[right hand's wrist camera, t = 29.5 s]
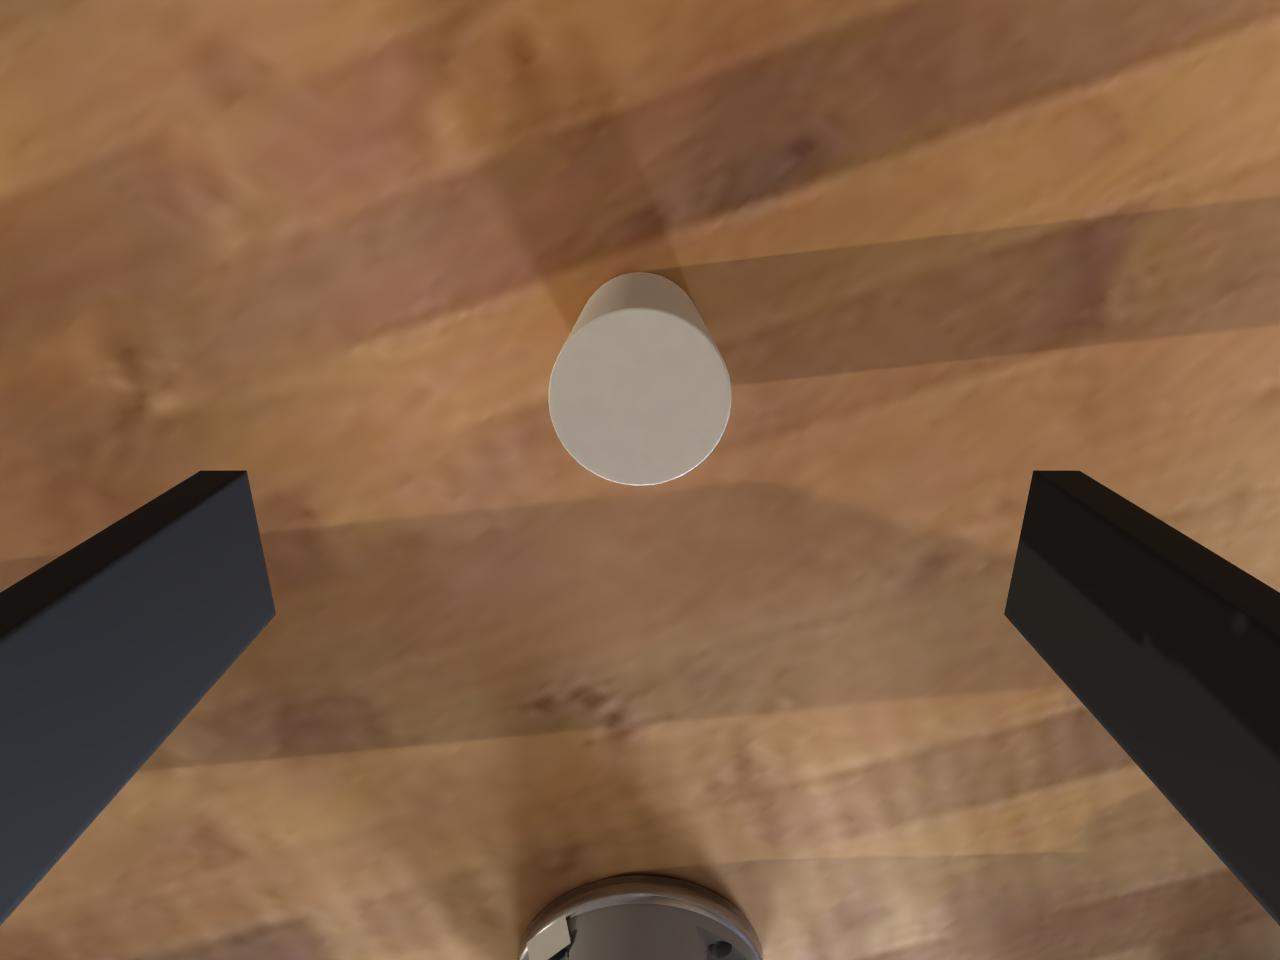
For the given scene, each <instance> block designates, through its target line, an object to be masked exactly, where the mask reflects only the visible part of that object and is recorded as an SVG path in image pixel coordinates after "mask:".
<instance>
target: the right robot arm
mask: <svg viewBox="0 0 1280 960" xmlns="http://www.w3.org/2000/svg"><path fill="white" fill-rule="evenodd" d="M275 615H276V613H275V608H274V603H273V598H272V593H271V589H270V584H269V579H268V574H267V569H266V564H265V559H264V554H263V549H262V544H261V539H260V534H259V529H258V525H257V520H256V515H255V510H254V505H253V500H252V495H251V490H250V485H249V480H248V475H247V471H199V472H198V473H196V474H194V475H193V476H191V477H190V478H188V479H186V480H185V481H183V482H181V483H180V484H178V485H176V486H175V487H173V488H171V489H170V490H168V491H167V492H165V493H163V494H162V495H160V496H158V497H157V498H155V499H153V500H152V501H150V502H149V503H147V504H145V505H144V506H142V507H140V508H139V509H137V510H135V511H134V512H132V513H130V514H129V515H127V516H126V517H124V518H122V519H121V520H119V521H117V522H116V523H114V524H112V525H111V526H109V527H108V528H106V529H104V530H103V531H101V532H99V533H98V534H96V535H94V536H93V537H91V538H89V539H88V540H86V541H85V542H83V543H81V544H80V545H78V546H76V547H75V548H73V549H71V550H70V551H68V552H66V553H65V554H63V555H62V556H60V557H58V558H57V559H55V560H53V561H52V562H50V563H48V564H47V565H45V566H44V567H42V568H40V569H39V570H37V571H35V572H34V573H32V574H30V575H29V576H27V577H25V578H24V579H22V580H21V581H19V582H17V583H16V584H14V585H12V586H11V587H9V588H7V589H6V590H4V591H2V592H1V593H0V926H1V924H2V923H3V922H4V921H5V920H6V919H7V918H8V916H9V915H10V914H11V913H12V912H13V911H14V910H15V909H16V907H17V906H18V905H19V904H20V903H21V902H22V901H23V900H24V898H25V897H26V896H27V895H28V894H29V893H30V892H31V890H32V889H33V888H34V887H35V886H36V885H37V884H38V883H39V881H40V880H41V879H42V878H43V877H44V876H45V875H46V874H47V872H48V871H49V870H50V869H51V868H52V867H53V866H54V865H55V863H56V862H57V861H58V860H59V859H60V858H61V857H62V855H63V854H64V853H65V852H66V851H67V850H68V849H69V848H70V846H71V845H72V844H73V843H74V842H75V841H76V840H77V839H78V837H79V836H80V835H81V834H82V833H83V832H84V831H85V829H86V828H87V827H88V826H89V825H90V824H91V823H92V822H93V820H94V819H95V818H96V817H97V816H98V815H99V814H100V813H101V811H102V810H103V809H104V808H105V807H106V806H107V805H108V803H109V802H110V801H111V800H112V799H113V798H114V797H115V796H116V794H117V793H118V792H119V791H120V790H121V789H122V788H123V787H124V785H125V784H126V783H127V782H128V781H129V780H130V779H131V778H132V776H133V775H134V774H135V773H136V772H137V771H138V770H139V768H140V767H141V766H142V765H143V764H144V763H145V762H146V761H147V759H148V758H149V757H150V756H151V755H152V754H153V753H154V752H155V750H156V749H157V748H158V747H159V746H160V745H161V744H162V742H163V741H164V740H165V739H166V738H167V737H168V736H169V735H170V733H171V732H172V731H173V730H174V729H175V728H176V727H177V726H178V724H179V723H180V722H181V721H182V720H183V719H184V718H185V716H186V715H187V714H188V713H189V712H190V711H191V710H192V709H193V707H194V706H195V705H196V704H197V703H198V702H199V701H200V700H201V698H202V697H203V696H204V695H205V694H206V693H207V692H208V691H209V689H210V688H211V687H212V686H213V685H214V684H215V683H216V681H217V680H218V679H219V678H220V677H221V676H222V675H223V674H224V672H225V671H226V670H227V669H228V668H229V667H230V666H231V665H232V663H233V662H234V661H235V660H236V659H237V658H238V657H239V655H240V654H241V653H242V652H243V651H244V650H245V649H246V648H247V646H248V645H249V644H250V643H251V642H252V641H253V640H254V639H255V637H256V636H257V635H258V634H259V633H260V632H261V631H262V629H263V628H264V627H265V626H266V625H267V624H268V623H269V622H270V620H271V619H272V618H273V617H274V616H275ZM1004 615H1005V616H1006V617H1007V618H1008V619H1009V620H1010V622H1011V623H1012V624H1013V625H1014V626H1015V627H1016V628H1017V629H1018V631H1019V632H1020V633H1021V634H1022V635H1023V636H1024V637H1025V639H1026V640H1027V641H1028V642H1029V643H1030V644H1031V645H1032V646H1033V648H1034V649H1035V650H1036V651H1037V652H1038V653H1039V654H1040V655H1041V657H1042V658H1043V659H1044V660H1045V661H1046V662H1047V663H1048V665H1049V666H1050V667H1051V668H1052V669H1053V670H1054V671H1055V672H1056V674H1057V675H1058V676H1059V677H1060V678H1061V679H1062V680H1063V681H1064V683H1065V684H1066V685H1067V686H1068V687H1069V688H1070V689H1071V691H1072V692H1073V693H1074V694H1075V695H1076V696H1077V697H1078V698H1079V700H1080V701H1081V702H1082V703H1083V704H1084V705H1085V706H1086V707H1087V709H1088V710H1089V711H1090V712H1091V713H1092V714H1093V715H1094V716H1095V718H1096V719H1097V720H1098V721H1099V722H1100V723H1101V724H1102V726H1103V727H1104V728H1105V729H1106V730H1107V731H1108V732H1109V733H1110V735H1111V736H1112V737H1113V738H1114V739H1115V740H1116V741H1117V742H1118V744H1119V745H1120V746H1121V747H1122V748H1123V749H1124V750H1125V752H1126V753H1127V754H1128V755H1129V756H1130V757H1131V758H1132V759H1133V761H1134V762H1135V763H1136V764H1137V765H1138V766H1139V767H1140V768H1141V770H1142V771H1143V772H1144V773H1145V774H1146V775H1147V776H1148V778H1149V779H1150V780H1151V781H1152V782H1153V783H1154V784H1155V785H1156V787H1157V788H1158V789H1159V790H1160V791H1161V792H1162V793H1163V794H1164V796H1165V797H1166V798H1167V799H1168V800H1169V801H1170V802H1171V803H1172V805H1173V806H1174V807H1175V808H1176V809H1177V810H1178V811H1179V813H1180V814H1181V815H1182V816H1183V817H1184V818H1185V819H1186V820H1187V822H1188V823H1189V824H1190V825H1191V826H1192V827H1193V828H1194V829H1195V831H1196V832H1197V833H1198V834H1199V835H1200V836H1201V837H1202V839H1203V840H1204V841H1205V842H1206V843H1207V844H1208V845H1209V846H1210V848H1211V849H1212V850H1213V851H1214V852H1215V853H1216V854H1217V855H1218V857H1219V858H1220V859H1221V860H1222V861H1223V862H1224V863H1225V865H1226V866H1227V867H1228V868H1229V869H1230V870H1231V871H1232V872H1233V874H1234V875H1235V876H1236V877H1237V878H1238V879H1239V880H1240V881H1241V883H1242V884H1243V885H1244V886H1245V887H1246V888H1247V889H1248V890H1249V892H1250V893H1251V894H1252V895H1253V896H1254V897H1255V898H1256V900H1257V901H1258V902H1259V903H1260V904H1261V905H1262V906H1263V907H1264V909H1265V910H1266V911H1267V912H1268V913H1269V914H1270V915H1271V916H1272V918H1273V919H1274V920H1275V921H1276V922H1277V923H1278V924H1279V926H1280V593H1279V592H1278V591H1276V590H1274V589H1273V588H1271V587H1269V586H1268V585H1266V584H1264V583H1263V582H1261V581H1259V580H1258V579H1256V578H1255V577H1253V576H1251V575H1250V574H1248V573H1246V572H1245V571H1243V570H1241V569H1240V568H1238V567H1236V566H1235V565H1233V564H1232V563H1230V562H1228V561H1227V560H1225V559H1223V558H1222V557H1220V556H1218V555H1217V554H1215V553H1214V552H1212V551H1210V550H1209V549H1207V548H1205V547H1204V546H1202V545H1200V544H1199V543H1197V542H1195V541H1194V540H1192V539H1191V538H1189V537H1187V536H1186V535H1184V534H1182V533H1181V532H1179V531H1177V530H1176V529H1174V528H1172V527H1171V526H1169V525H1168V524H1166V523H1164V522H1163V521H1161V520H1159V519H1158V518H1156V517H1154V516H1153V515H1151V514H1150V513H1148V512H1146V511H1145V510H1143V509H1141V508H1140V507H1138V506H1136V505H1135V504H1133V503H1131V502H1130V501H1128V500H1127V499H1125V498H1123V497H1122V496H1120V495H1118V494H1117V493H1115V492H1113V491H1112V490H1110V489H1109V488H1107V487H1105V486H1104V485H1102V484H1100V483H1099V482H1097V481H1095V480H1094V479H1092V478H1090V477H1089V476H1087V475H1086V474H1084V473H1082V472H1081V471H1033V475H1032V480H1031V485H1030V490H1029V495H1028V500H1027V505H1026V510H1025V515H1024V520H1023V525H1022V529H1021V534H1020V539H1019V544H1018V549H1017V554H1016V559H1015V564H1014V569H1013V574H1012V579H1011V584H1010V589H1009V593H1008V598H1007V603H1006V608H1005V613H1004ZM518 960H763V955H762V950H761V945H760V942H759V939H758V936H757V934H756V932H755V930H754V928H753V927H752V925H751V924H750V922H749V921H748V920H747V918H746V917H745V916H744V915H743V914H742V913H741V912H740V911H739V910H738V909H737V908H736V907H735V906H734V905H732V904H731V903H730V902H728V901H727V900H726V899H724V898H722V897H721V896H719V895H718V894H716V893H714V892H712V891H710V890H708V889H706V888H703V887H701V886H698V885H696V884H692V883H689V882H686V881H682V880H678V879H674V878H668V877H661V876H649V875H633V876H621V877H613V878H608V879H603V880H598V881H595V882H592V883H588V884H585V885H583V886H580V887H578V888H575V889H573V890H571V891H569V892H567V893H565V894H563V895H562V896H560V897H558V898H557V899H555V900H554V901H553V902H551V903H550V904H549V905H547V906H546V907H545V908H544V909H543V910H542V911H541V912H540V913H539V914H538V915H537V916H536V917H535V918H534V919H533V921H532V922H531V924H530V925H529V927H528V928H527V930H526V932H525V934H524V936H523V939H522V942H521V945H520V949H519V954H518Z"/></svg>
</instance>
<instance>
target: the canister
mask: <svg viewBox="0 0 1280 960" xmlns="http://www.w3.org/2000/svg"><path fill="white" fill-rule="evenodd" d="M548 403H549V410H550V416H551V419H552V423H553V426H554V428H555V431H556V433H557V435H558V437H559V439H560V441H561V442H562V444H563V446H564V447H565V448H566V449H567V451H568V452H569V453H570V455H571V456H572V457H573V458H574V459H575V460H576V461H577V462H578V463H580V464H581V465H582V466H584V467H585V468H586V469H587V470H589V471H591V472H592V473H594V474H596V475H598V476H600V477H602V478H605V479H607V480H610V481H613V482H616V483H621V484H627V485H640V486H642V485H654V484H659V483H663V482H667V481H670V480H673V479H675V478H678V477H680V476H682V475H684V474H686V473H687V472H689V471H690V470H692V469H694V468H695V467H696V466H697V465H699V464H700V463H701V462H702V461H703V460H704V459H705V458H706V457H707V456H708V455H709V454H710V453H711V452H712V451H713V449H714V448H715V446H716V445H717V443H718V442H719V440H720V438H721V436H722V434H723V433H724V430H725V427H726V425H727V422H728V418H729V414H730V408H731V384H730V379H729V374H728V371H727V368H726V365H725V362H724V360H723V358H722V356H721V354H720V352H719V350H718V348H717V346H716V345H715V343H714V341H713V339H712V337H711V335H710V333H709V331H708V330H707V328H706V326H705V324H704V322H703V320H702V318H701V316H700V315H699V313H698V311H697V309H696V307H695V305H694V303H693V302H692V300H691V299H690V297H689V296H688V295H687V294H686V293H685V291H684V290H683V289H681V288H680V287H679V286H678V285H677V284H675V283H674V282H672V281H671V280H669V279H667V278H665V277H663V276H660V275H656V274H652V273H646V272H635V273H628V274H623V275H620V276H617V277H615V278H613V279H611V280H609V281H607V282H606V283H604V284H603V285H602V286H600V287H599V288H598V289H597V290H596V291H595V292H594V293H593V295H592V296H591V297H590V298H589V300H588V302H587V303H586V305H585V307H584V308H583V310H582V312H581V314H580V316H579V318H578V320H577V322H576V323H575V325H574V327H573V329H572V331H571V333H570V335H569V337H568V338H567V340H566V342H565V344H564V346H563V348H562V350H561V351H560V353H559V355H558V357H557V360H556V362H555V364H554V367H553V370H552V373H551V377H550V382H549V390H548Z"/></svg>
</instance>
